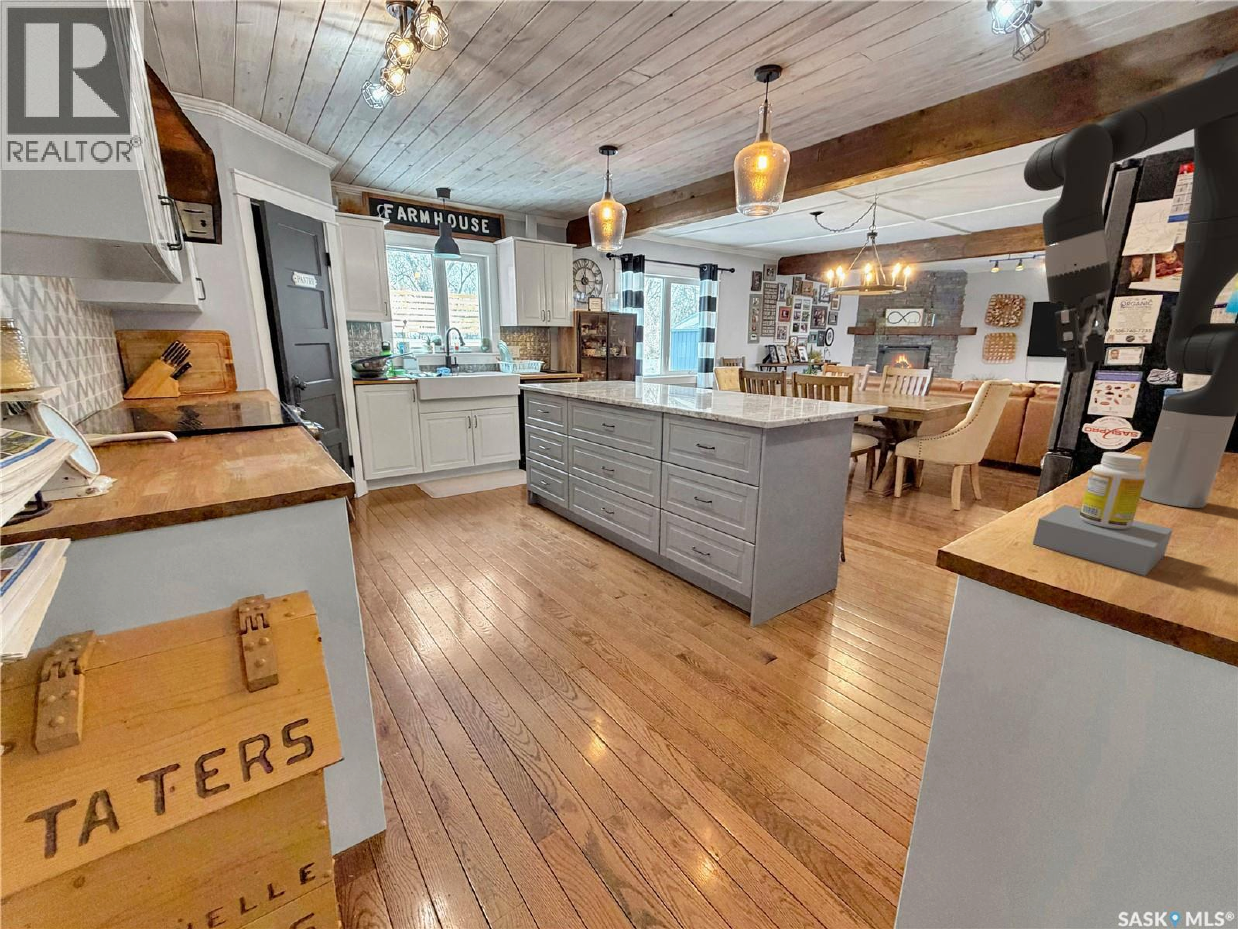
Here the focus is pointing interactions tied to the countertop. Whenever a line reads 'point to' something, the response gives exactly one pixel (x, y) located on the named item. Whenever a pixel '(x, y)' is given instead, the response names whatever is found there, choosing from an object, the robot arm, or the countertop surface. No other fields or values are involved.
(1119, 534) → the slate block
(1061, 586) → the countertop surface
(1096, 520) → the supplement bottle
